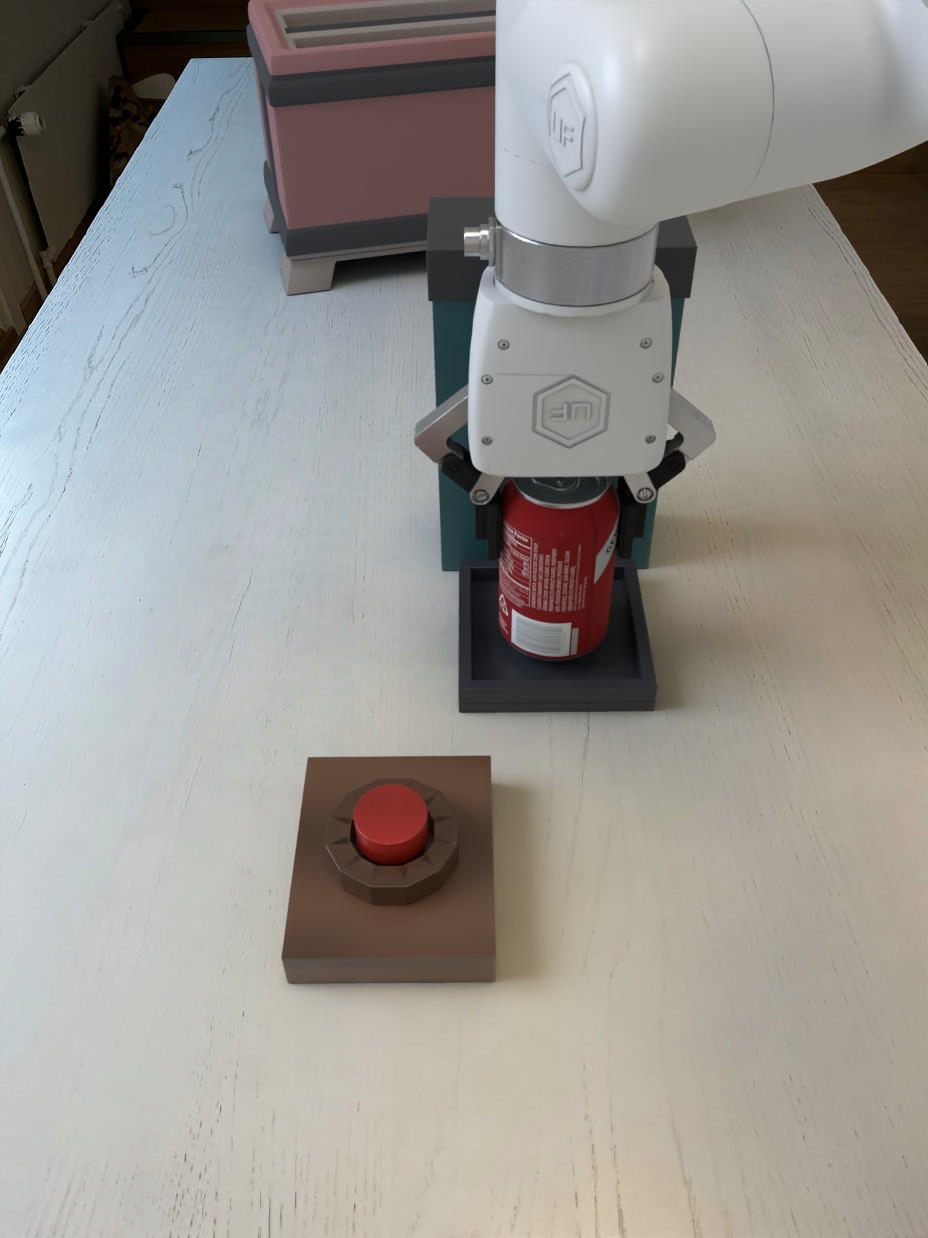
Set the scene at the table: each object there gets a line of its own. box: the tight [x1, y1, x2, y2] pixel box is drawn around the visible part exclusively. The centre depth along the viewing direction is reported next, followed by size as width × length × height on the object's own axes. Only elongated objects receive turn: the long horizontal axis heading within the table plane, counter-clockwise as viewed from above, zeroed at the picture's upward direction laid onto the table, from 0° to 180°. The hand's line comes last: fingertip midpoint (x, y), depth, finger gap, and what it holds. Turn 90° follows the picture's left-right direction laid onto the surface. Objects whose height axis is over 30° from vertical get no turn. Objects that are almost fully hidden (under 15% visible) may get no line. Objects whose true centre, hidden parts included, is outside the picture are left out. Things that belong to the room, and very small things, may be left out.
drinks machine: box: [425, 197, 698, 571], centre depth 68 cm, size 7×14×23 cm, turn 90°
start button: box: [354, 784, 429, 865], centre depth 54 cm, size 4×4×2 cm
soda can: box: [499, 476, 621, 661], centre depth 64 cm, size 7×7×12 cm
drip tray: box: [457, 559, 658, 713], centre depth 68 cm, size 12×12×2 cm
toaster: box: [245, 0, 496, 296], centre depth 105 cm, size 19×34×21 cm, turn 104°
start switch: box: [280, 755, 496, 984], centre depth 55 cm, size 12×10×4 cm
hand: (557, 542), depth 63 cm, fingers closed on soda can, 6 cm apart
